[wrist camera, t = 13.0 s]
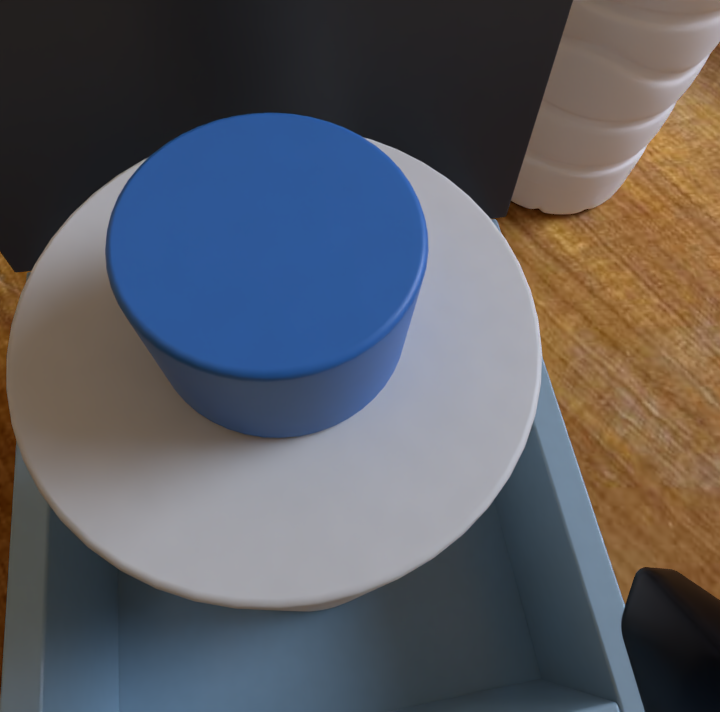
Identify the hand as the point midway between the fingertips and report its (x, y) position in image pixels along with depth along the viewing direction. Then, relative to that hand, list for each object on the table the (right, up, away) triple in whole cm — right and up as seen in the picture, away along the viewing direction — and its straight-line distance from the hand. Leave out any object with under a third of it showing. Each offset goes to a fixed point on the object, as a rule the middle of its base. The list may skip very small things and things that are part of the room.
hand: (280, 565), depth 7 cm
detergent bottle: (-1, -2, +10) cm, 10 cm away
